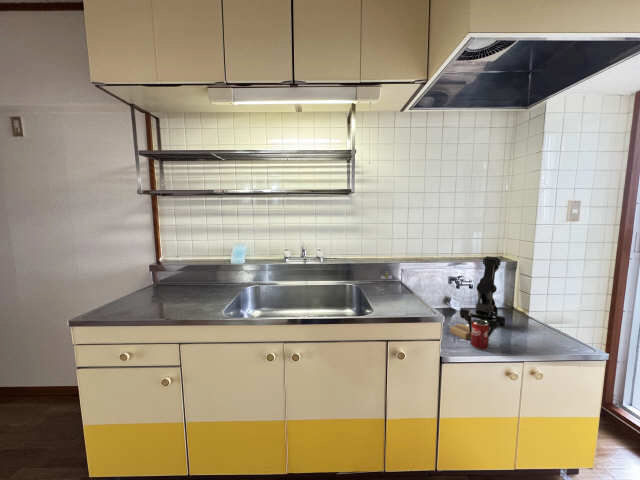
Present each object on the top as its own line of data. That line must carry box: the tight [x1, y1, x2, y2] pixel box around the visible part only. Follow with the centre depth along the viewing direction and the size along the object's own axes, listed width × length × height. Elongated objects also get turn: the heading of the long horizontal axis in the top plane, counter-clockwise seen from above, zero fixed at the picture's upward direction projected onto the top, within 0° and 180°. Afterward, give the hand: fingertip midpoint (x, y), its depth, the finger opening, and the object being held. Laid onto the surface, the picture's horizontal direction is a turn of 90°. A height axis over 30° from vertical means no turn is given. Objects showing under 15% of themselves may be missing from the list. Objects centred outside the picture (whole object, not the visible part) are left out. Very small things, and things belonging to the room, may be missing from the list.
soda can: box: [470, 318, 490, 351], centre depth 128 cm, size 7×7×12 cm
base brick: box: [449, 323, 471, 341], centre depth 141 cm, size 9×9×3 cm
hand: (479, 334), depth 126 cm, fingers closed on soda can, 7 cm apart
